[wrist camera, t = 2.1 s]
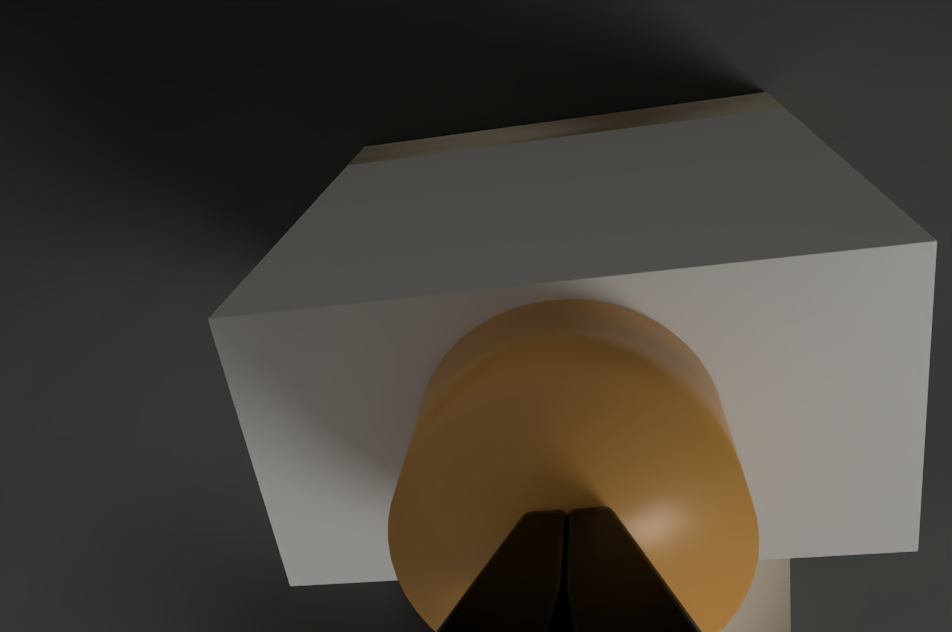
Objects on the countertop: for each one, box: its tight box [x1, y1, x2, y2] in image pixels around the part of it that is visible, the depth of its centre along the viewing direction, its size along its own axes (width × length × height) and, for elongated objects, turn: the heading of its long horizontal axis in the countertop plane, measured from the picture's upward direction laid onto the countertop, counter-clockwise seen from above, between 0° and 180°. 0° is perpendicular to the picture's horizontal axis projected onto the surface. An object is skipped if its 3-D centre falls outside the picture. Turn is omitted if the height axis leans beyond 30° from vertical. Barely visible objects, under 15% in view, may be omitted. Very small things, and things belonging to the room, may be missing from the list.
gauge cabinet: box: [208, 107, 937, 586], centre depth 14 cm, size 8×5×7 cm, turn 99°
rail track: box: [348, 92, 791, 632], centre depth 20 cm, size 8×20×3 cm, turn 9°
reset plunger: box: [388, 299, 759, 632], centre depth 9 cm, size 4×4×2 cm
